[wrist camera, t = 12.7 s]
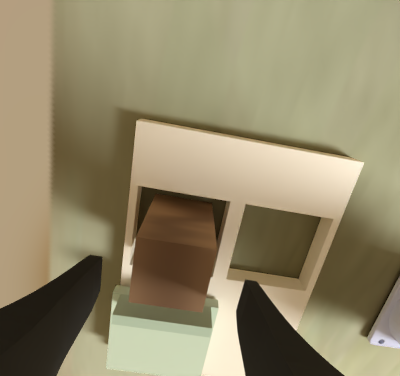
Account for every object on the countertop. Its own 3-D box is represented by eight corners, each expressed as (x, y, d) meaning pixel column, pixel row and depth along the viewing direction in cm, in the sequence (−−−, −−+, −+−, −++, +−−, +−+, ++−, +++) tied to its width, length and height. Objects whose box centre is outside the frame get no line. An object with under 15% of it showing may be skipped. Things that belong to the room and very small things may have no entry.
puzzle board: (351, 157, 17) (364, 162, 16) (270, 368, 24) (274, 384, 22) (141, 118, 16) (136, 120, 15) (117, 348, 23) (112, 363, 22)
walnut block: (211, 202, 18) (217, 249, 13) (201, 250, 20) (202, 312, 14) (155, 193, 18) (135, 236, 12) (149, 242, 19) (128, 302, 14)
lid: (217, 299, 19) (220, 329, 17) (199, 370, 22) (199, 405, 19) (116, 284, 19) (103, 313, 16) (109, 358, 21) (97, 393, 19)
